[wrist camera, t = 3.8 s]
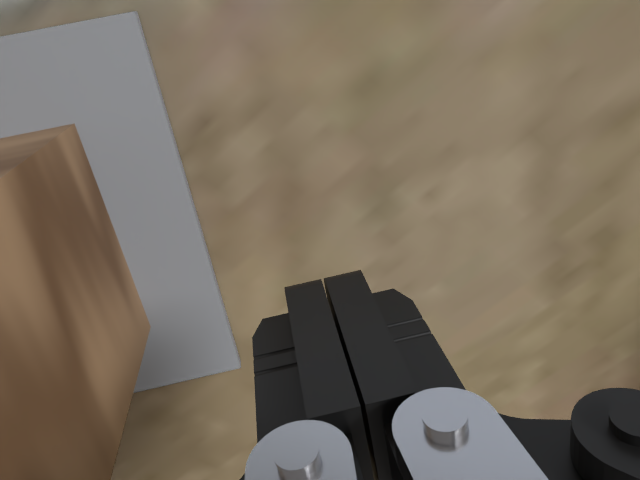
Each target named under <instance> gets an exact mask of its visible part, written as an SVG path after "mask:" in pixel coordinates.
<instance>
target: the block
mask: <svg viewBox="0 0 640 480" xmlns="http://www.w3.org/2000/svg"><path fill="white" fill-rule="evenodd" d="M150 328H151V326H150V324H149V321H148V318H147V316H146V313H145V310H144V308H143V305H142V302H141V300H140V297H139V294H138V292H137V289H136V286H135V284H134V281H133V278H132V276H131V273H130V270H129V268H128V265H127V262H126V260H125V257H124V254H123V252H122V249H121V246H120V244H119V241H118V238H117V236H116V233H115V230H114V228H113V225H112V222H111V220H110V217H109V214H108V212H107V209H106V206H105V204H104V201H103V198H102V196H101V193H100V190H99V188H98V185H97V182H96V180H95V177H94V174H93V172H92V169H91V166H90V164H89V161H88V158H87V156H86V153H85V150H84V148H83V145H82V142H81V140H80V137H79V134H78V132H77V129H76V126H75V124H69V125H64V126H59V127H54V128H49V129H44V130H39V131H34V132H29V133H24V134H19V135H14V136H9V137H5V138H0V480H110V479H111V475H112V472H113V468H114V464H115V460H116V456H117V453H118V449H119V445H120V441H121V437H122V434H123V430H124V426H125V422H126V419H127V415H128V411H129V407H130V403H131V400H132V396H133V392H134V388H135V385H136V381H137V377H138V373H139V369H140V366H141V362H142V358H143V354H144V350H145V347H146V343H147V339H148V335H149V332H150Z"/></svg>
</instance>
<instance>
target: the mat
mask: <svg viewBox="0 0 640 480" xmlns="http://www.w3.org/2000/svg"><path fill="white" fill-rule="evenodd" d="M69 124H75V126H76V129H77V132H78V134H79V137H80V140H81V142H82V145H83V148H84V150H85V153H86V156H87V158H88V161H89V164H90V166H91V169H92V172H93V174H94V177H95V180H96V182H97V185H98V188H99V190H100V193H101V196H102V198H103V201H104V204H105V206H106V209H107V212H108V214H109V217H110V220H111V222H112V225H113V228H114V230H115V233H116V236H117V238H118V241H119V244H120V246H121V249H122V252H123V254H124V257H125V260H126V262H127V265H128V268H129V270H130V273H131V276H132V278H133V281H134V284H135V286H136V289H137V292H138V294H139V297H140V300H141V302H142V305H143V308H144V310H145V313H146V316H147V318H148V321H149V324H150V326H151V328H150V332H149V335H148V339H147V343H146V347H145V350H144V354H143V358H142V362H141V366H140V369H139V373H138V377H137V381H136V385H135V388H134V392H133V393H135V392H139V391H144V390H148V389H152V388H157V387H161V386H165V385H170V384H174V383H178V382H182V381H187V380H191V379H195V378H200V377H204V376H208V375H212V374H217V373H221V372H225V371H230V370H234V369H238V368H241V361H240V357H239V354H238V351H237V347H236V344H235V340H234V337H233V334H232V330H231V327H230V324H229V320H228V317H227V313H226V310H225V307H224V303H223V300H222V297H221V293H220V290H219V286H218V283H217V280H216V276H215V273H214V270H213V266H212V263H211V259H210V256H209V253H208V249H207V246H206V242H205V239H204V236H203V232H202V229H201V226H200V222H199V219H198V215H197V212H196V209H195V205H194V202H193V199H192V195H191V192H190V188H189V185H188V182H187V178H186V175H185V172H184V168H183V165H182V161H181V158H180V155H179V151H178V148H177V145H176V141H175V138H174V134H173V131H172V128H171V124H170V121H169V118H168V114H167V111H166V107H165V104H164V101H163V97H162V94H161V90H160V87H159V84H158V80H157V77H156V74H155V70H154V67H153V63H152V60H151V57H150V53H149V50H148V47H147V43H146V40H145V36H144V33H143V30H142V26H141V23H140V20H139V16H138V13H137V11H133V12H128V13H123V14H118V15H112V16H107V17H102V18H97V19H91V20H86V21H81V22H75V23H70V24H65V25H60V26H54V27H49V28H44V29H38V30H33V31H28V32H23V33H17V34H12V35H7V36H1V37H0V138H5V137H9V136H14V135H19V134H24V133H29V132H34V131H39V130H44V129H49V128H54V127H59V126H64V125H69Z"/></svg>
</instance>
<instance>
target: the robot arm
mask: <svg viewBox="0 0 640 480" xmlns="http://www.w3.org/2000/svg"><path fill="white" fill-rule="evenodd" d="M324 284H325V289H326V293H325V290H324V287H323V284H322V281H321V279H319V280H315V281H311V282H306V283H302V284H297V285H293V286H289V287H285V294H286V300H287V306H288V312H289V313H286V314H282V315H278V316H273V317H269V318H265V319H262V321H261V323H260V325H259V326H258V328H257V330H256V332H255V334H254V336H253V337H252V339H253V357H254V374H255V377H254V380H255V400H256V421H257V445H256V446H255V447H254V448H253V450H252V452H251V454H250V455H249V458H248V460H247V463H246V469H245V474H244V475H243V476H242V478H241V479H240V480H640V390H635V389H627V388H609V389H602V390H598V391H595V392H592V393H590V394H588V395H586V396H584V397H583V398H582V399H580V400H579V401H578V402H577V404H576V405H575V406H574V409H573V411H572V415H571V420H545V419H521V418H515V417H509V416H506V415H502V414H499V413H497V411H496V410H495V409H494V408H493V407H492V405H491V404H490V403H489V402H487V401H486V400H485V399H483V398H482V397H480V396H478V395H477V394H474V393H472V392H469V391H467V390H466V389H465V388H464V386H463V384H462V383H461V381H460V379H459V378H458V376H457V374H456V373H455V371H454V369H453V368H452V366H451V364H450V363H449V361H448V359H447V358H446V356H445V354H444V353H443V351H442V349H441V348H440V346H439V344H438V342H437V341H436V339H435V337H434V336H433V334H431V331H430V329H429V327H428V326H427V324H426V322H425V321H424V320H423V319H422V316H421V314H420V312H419V311H418V309H417V307H416V306H415V304H414V302H413V301H412V300H411V299H410V298H408V297H406V296H405V295H403V294H401V293H400V292H398V291H396V290H395V289H390V290H385V291H381V292H377V293H371V290H370V288H369V286H368V284H367V282H366V280H365V278H364V276H363V273H362V272H361V270H358V271H354V272H350V273H345V274H341V275H336V276H332V277H328V278H324ZM326 294H327V297H326ZM327 299H328V300H327Z"/></svg>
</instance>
